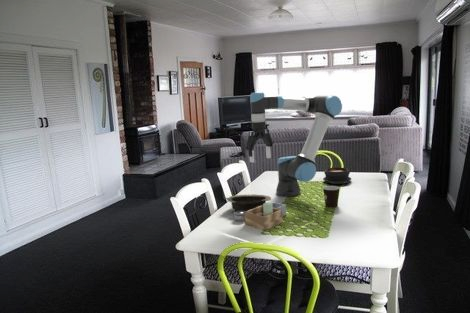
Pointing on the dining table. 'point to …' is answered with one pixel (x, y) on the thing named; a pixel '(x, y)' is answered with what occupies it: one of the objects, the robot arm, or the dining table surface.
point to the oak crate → (263, 218)
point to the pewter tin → (239, 216)
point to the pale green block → (267, 208)
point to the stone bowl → (247, 201)
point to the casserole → (337, 175)
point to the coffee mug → (331, 196)
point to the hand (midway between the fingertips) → (260, 160)
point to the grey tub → (280, 207)
